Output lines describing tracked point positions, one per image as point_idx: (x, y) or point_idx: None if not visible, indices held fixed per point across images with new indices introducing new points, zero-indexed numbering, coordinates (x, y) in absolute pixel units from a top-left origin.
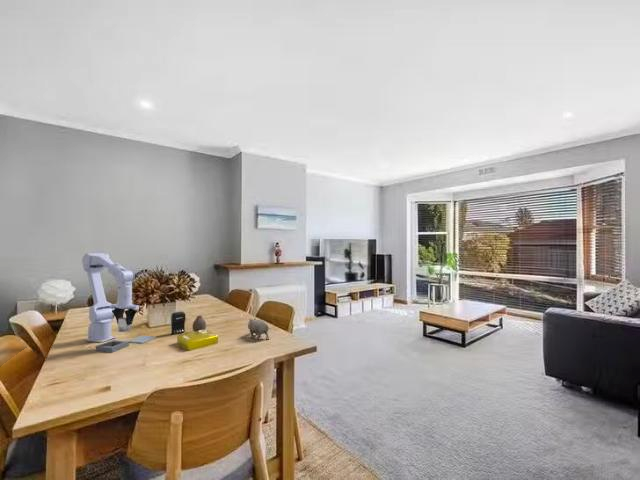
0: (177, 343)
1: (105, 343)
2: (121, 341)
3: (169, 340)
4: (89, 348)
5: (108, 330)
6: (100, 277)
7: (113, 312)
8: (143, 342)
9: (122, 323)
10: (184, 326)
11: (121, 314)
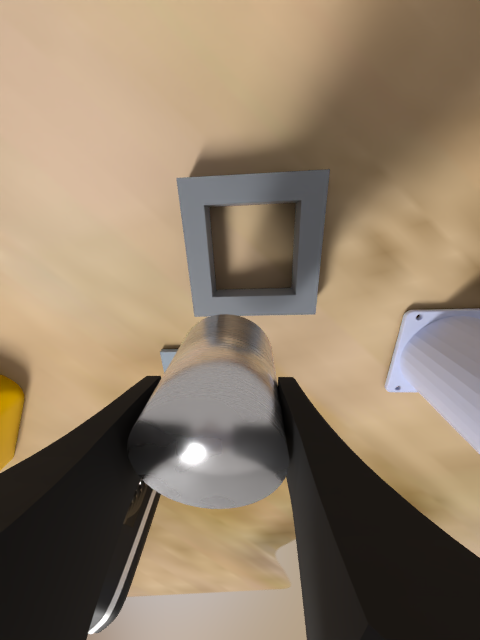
0: (1, 379)
1: (310, 245)
2: (240, 306)
3: (90, 407)
4: (403, 203)
5: (438, 389)
6: None
7: (439, 558)
8: (161, 355)
9: (180, 363)
10: (125, 517)
11: (302, 531)
